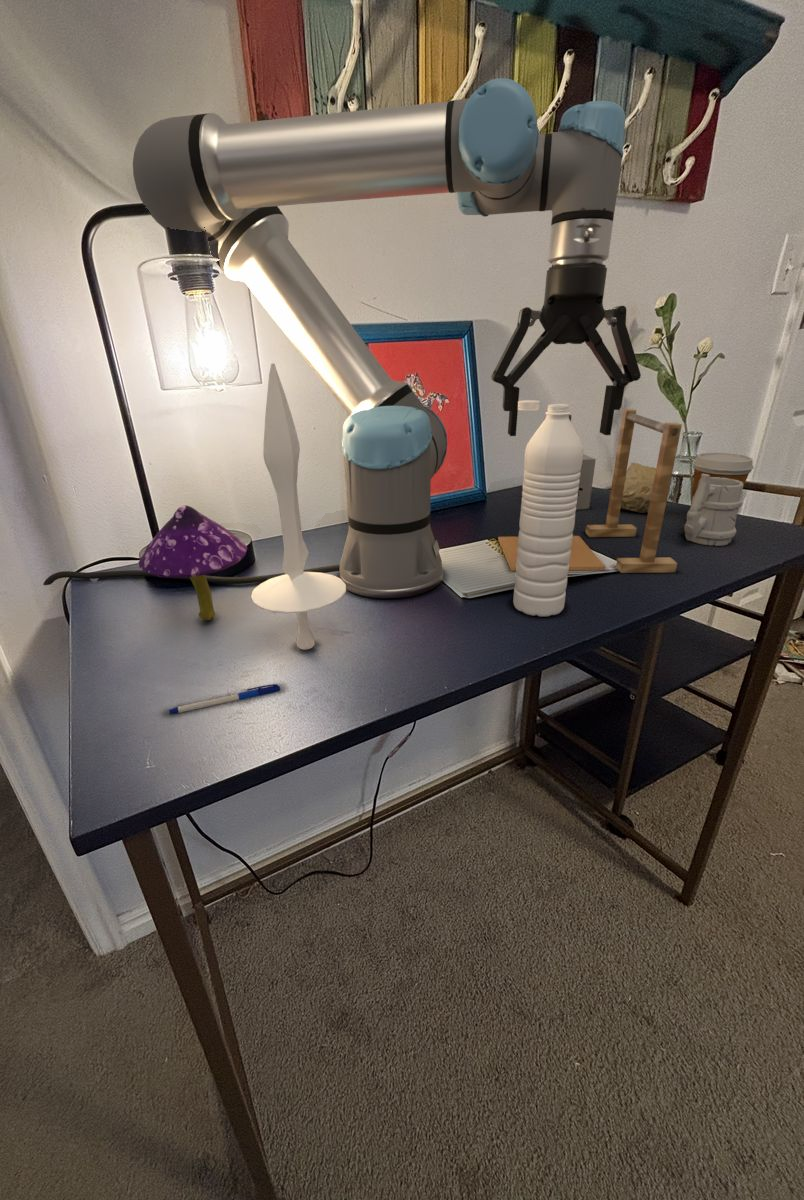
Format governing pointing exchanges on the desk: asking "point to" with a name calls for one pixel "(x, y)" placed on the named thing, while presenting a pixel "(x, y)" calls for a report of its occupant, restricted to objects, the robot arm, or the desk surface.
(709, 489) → the mug
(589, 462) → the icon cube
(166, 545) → the decorative mushroom
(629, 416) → the rail stand
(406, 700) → the desk surface
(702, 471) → the disposable coffee cup
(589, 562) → the cork mat
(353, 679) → the desk surface
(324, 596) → the sculpture
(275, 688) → the ballpoint pen
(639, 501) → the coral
